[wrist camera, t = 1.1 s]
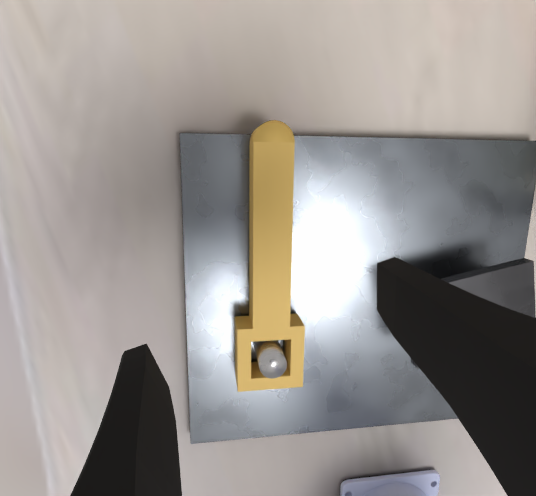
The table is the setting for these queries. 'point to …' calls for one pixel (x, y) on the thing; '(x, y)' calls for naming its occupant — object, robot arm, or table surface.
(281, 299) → the lever
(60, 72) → the table surface
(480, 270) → the keeper
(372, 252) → the base
